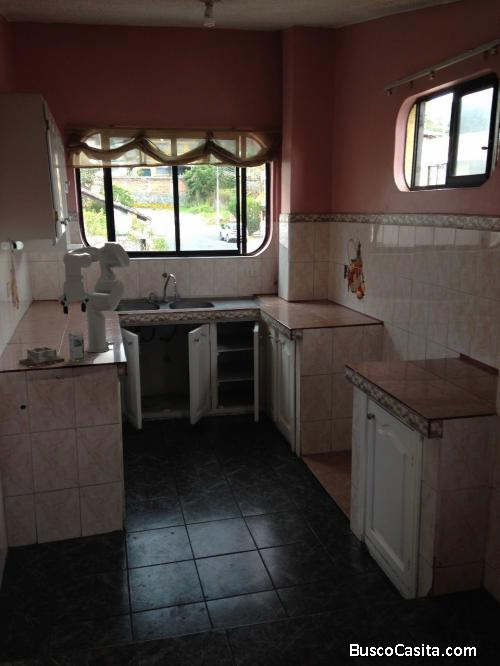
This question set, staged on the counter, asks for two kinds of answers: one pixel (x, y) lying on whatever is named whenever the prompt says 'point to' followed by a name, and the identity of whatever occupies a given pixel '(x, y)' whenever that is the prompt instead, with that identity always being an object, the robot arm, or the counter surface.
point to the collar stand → (41, 356)
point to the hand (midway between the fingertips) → (74, 312)
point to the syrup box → (76, 346)
